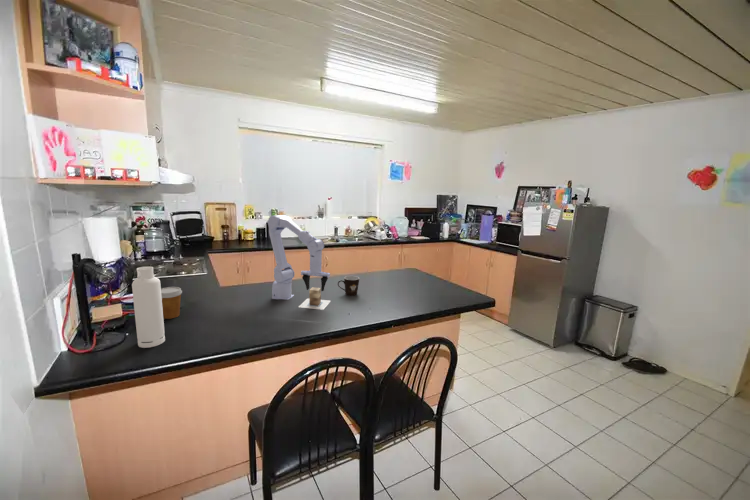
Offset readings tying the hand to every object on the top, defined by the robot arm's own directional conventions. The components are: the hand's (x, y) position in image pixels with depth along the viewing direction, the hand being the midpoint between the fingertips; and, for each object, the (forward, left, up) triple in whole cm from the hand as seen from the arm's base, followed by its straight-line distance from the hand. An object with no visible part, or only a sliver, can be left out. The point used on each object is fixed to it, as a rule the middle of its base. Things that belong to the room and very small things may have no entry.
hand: (315, 289), depth 156 cm
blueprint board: (0, 0, -8) cm, 8 cm away
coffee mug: (+13, +20, -8) cm, 25 cm away
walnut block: (0, 0, -7) cm, 7 cm away
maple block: (0, 0, -3) cm, 3 cm away
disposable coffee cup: (-56, -29, -8) cm, 64 cm away
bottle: (-45, -51, -8) cm, 68 cm away
